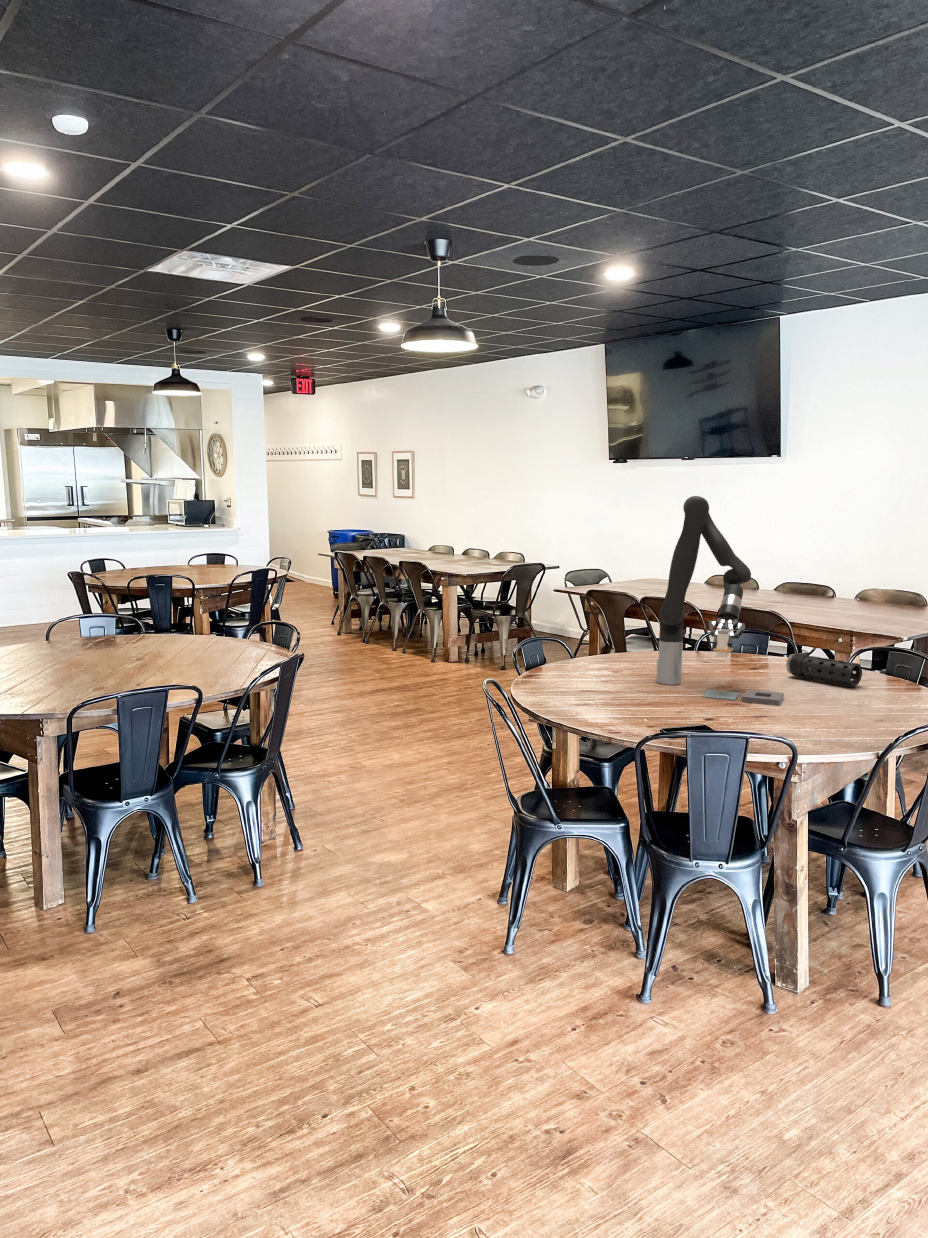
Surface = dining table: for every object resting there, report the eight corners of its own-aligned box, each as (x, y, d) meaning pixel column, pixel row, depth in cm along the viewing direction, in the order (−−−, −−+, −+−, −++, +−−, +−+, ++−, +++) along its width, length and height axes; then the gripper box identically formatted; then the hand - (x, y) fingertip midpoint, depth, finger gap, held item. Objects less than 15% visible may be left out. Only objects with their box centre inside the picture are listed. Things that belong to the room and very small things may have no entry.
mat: (701, 697, 325) (702, 696, 325) (708, 691, 336) (708, 689, 336) (735, 700, 320) (735, 699, 320) (740, 694, 330) (740, 692, 330)
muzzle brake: (849, 690, 337) (850, 664, 335) (784, 678, 359) (785, 653, 357) (861, 687, 343) (863, 661, 341) (797, 675, 365) (798, 651, 363)
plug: (712, 656, 324) (714, 630, 323) (716, 654, 329) (717, 628, 328) (729, 658, 322) (730, 631, 320) (732, 655, 327) (733, 629, 325)
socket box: (741, 702, 318) (742, 696, 318) (747, 694, 330) (747, 689, 329) (779, 705, 312) (779, 700, 312) (783, 698, 324) (783, 692, 324)
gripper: (710, 601, 332) (701, 637, 323) (748, 604, 326) (741, 641, 317) (712, 613, 338) (704, 649, 329) (750, 616, 331) (742, 652, 323)
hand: (722, 645), depth 323 cm, fingers closed on plug, 4 cm apart
